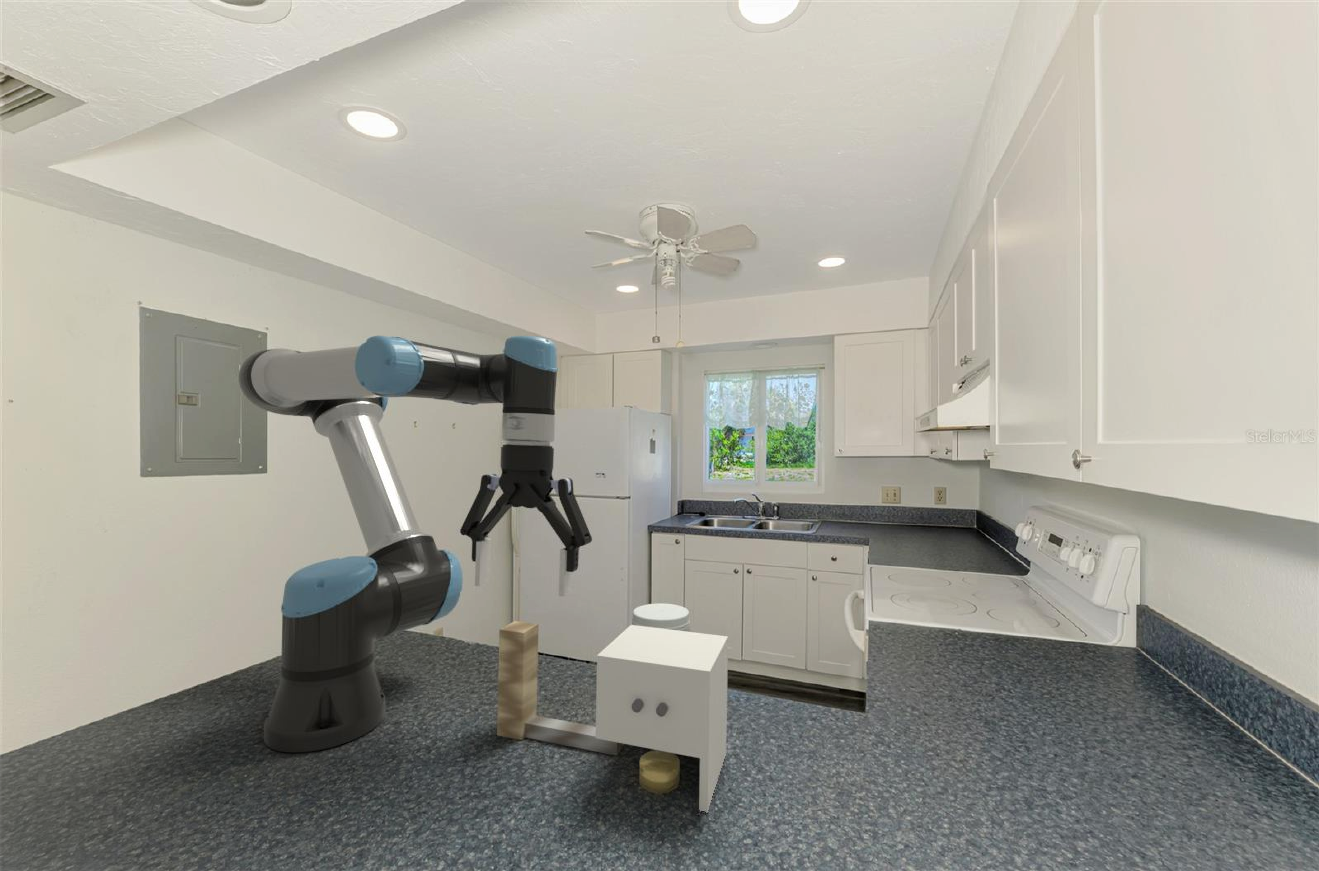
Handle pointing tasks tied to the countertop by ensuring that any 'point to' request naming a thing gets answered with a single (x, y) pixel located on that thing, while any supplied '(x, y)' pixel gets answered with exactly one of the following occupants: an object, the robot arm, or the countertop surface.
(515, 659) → the scraper tool
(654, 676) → the cabinet
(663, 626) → the supplement tub
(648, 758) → the cylinder
